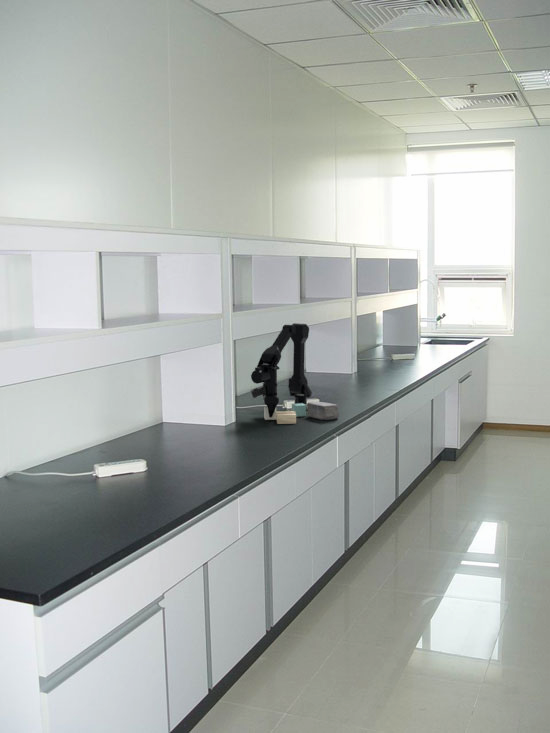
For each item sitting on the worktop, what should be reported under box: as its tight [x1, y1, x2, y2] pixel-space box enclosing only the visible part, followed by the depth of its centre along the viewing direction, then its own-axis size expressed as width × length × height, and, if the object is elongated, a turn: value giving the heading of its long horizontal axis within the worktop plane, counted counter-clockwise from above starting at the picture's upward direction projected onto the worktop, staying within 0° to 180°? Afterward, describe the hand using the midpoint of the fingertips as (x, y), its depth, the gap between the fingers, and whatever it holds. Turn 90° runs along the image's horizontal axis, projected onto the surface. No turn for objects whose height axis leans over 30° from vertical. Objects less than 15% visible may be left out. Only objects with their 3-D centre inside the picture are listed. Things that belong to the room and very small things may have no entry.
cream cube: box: [263, 405, 277, 421], centre depth 352 cm, size 5×5×5 cm
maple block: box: [276, 410, 297, 425], centre depth 345 cm, size 8×8×4 cm
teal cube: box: [291, 403, 307, 418], centre depth 359 cm, size 5×5×5 cm
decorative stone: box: [307, 401, 340, 421], centre depth 353 cm, size 15×7×10 cm
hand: (270, 416), depth 352 cm, fingers open, 5 cm apart
